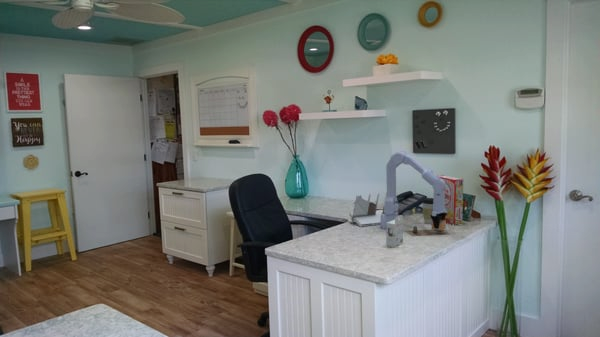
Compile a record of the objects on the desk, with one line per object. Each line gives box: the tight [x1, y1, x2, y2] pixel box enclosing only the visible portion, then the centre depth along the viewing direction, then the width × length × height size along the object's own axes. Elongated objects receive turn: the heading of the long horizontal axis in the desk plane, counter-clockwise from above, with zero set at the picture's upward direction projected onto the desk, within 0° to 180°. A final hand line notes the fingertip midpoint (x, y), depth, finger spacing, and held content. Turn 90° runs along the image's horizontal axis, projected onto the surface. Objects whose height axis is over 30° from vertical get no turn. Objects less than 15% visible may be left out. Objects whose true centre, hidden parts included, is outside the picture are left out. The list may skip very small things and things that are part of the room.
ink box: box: [385, 214, 404, 248], centre depth 218 cm, size 9×5×15 cm, turn 141°
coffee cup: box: [421, 197, 433, 225], centre depth 261 cm, size 10×10×15 cm
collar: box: [431, 220, 447, 231], centre depth 239 cm, size 6×6×4 cm
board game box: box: [435, 174, 464, 226], centre depth 268 cm, size 20×6×27 cm, turn 16°
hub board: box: [404, 225, 451, 237], centre depth 238 cm, size 21×12×6 cm, turn 97°
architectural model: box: [348, 192, 400, 228], centre depth 269 cm, size 20×29×21 cm
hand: (438, 227), depth 239 cm, fingers closed on collar, 5 cm apart
